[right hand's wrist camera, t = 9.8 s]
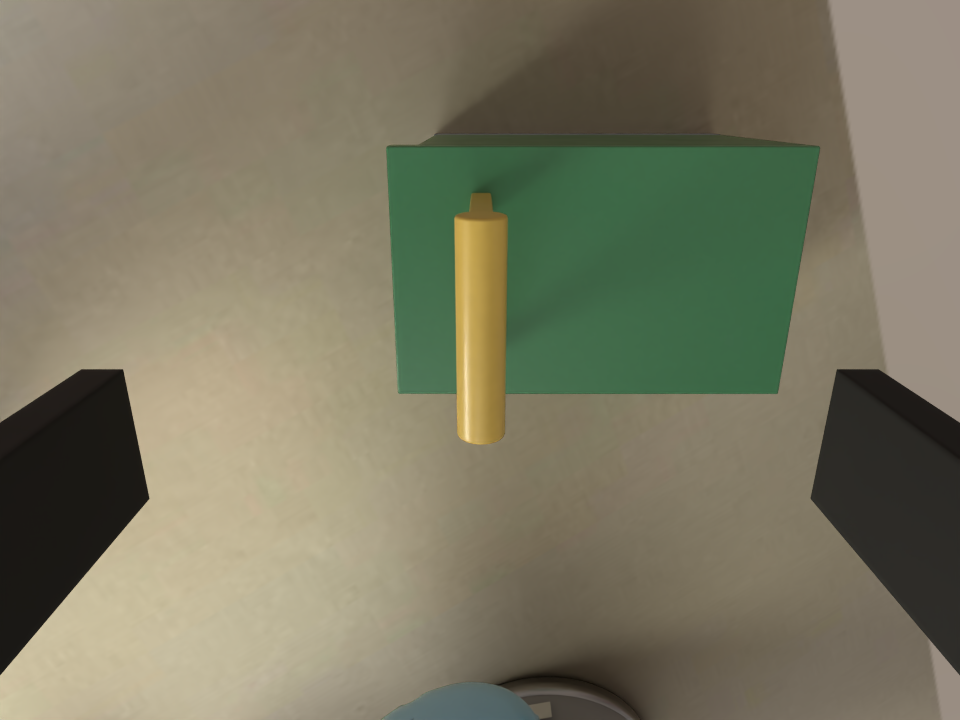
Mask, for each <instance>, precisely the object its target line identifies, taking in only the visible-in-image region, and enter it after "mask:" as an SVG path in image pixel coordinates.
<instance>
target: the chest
mask: <svg viewBox="0 0 960 720" xmlns="http://www.w3.org/2000/svg"><path fill="white" fill-rule="evenodd" d="M420 145H804V144H795V143H786V142H777V141H769V140H760V139H751V138H743V137H734V136H725V135H720V134H435V135H434V136H433V137H431V138H430V139H428V140H426V141H425V142H423V143H421V144H420Z"/></svg>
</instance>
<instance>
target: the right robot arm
mask: <svg viewBox="0 0 960 720" xmlns="http://www.w3.org/2000/svg"><path fill="white" fill-rule="evenodd" d="M148 500H149V494H148V489H147V484H146V480H145V475H144V470H143V465H142V460H141V455H140V450H139V445H138V440H137V435H136V431H135V426H134V421H133V416H132V411H131V406H130V401H129V396H128V391H127V386H126V382H125V377H124V372H123V369H81V370H80V371H78V372H77V373H75V374H74V375H72V376H71V377H69V378H68V379H66V380H65V381H63V382H62V383H60V384H58V385H57V386H55V387H54V388H52V389H51V390H49V391H48V392H46V393H45V394H43V395H42V396H40V397H39V398H37V399H36V400H34V401H33V402H31V403H30V404H28V405H27V406H25V407H23V408H22V409H20V410H19V411H17V412H16V413H14V414H13V415H11V416H10V417H8V418H7V419H5V420H4V421H2V422H1V423H0V675H1V674H2V672H3V671H4V670H5V669H6V668H7V667H8V665H9V664H10V663H11V662H12V661H13V659H14V658H15V657H16V656H17V655H18V654H19V652H20V651H21V650H22V649H23V648H24V646H25V645H26V644H27V643H28V642H29V640H30V639H31V638H32V637H33V636H34V635H35V633H36V632H37V631H38V630H39V629H40V627H41V626H42V625H43V624H44V623H45V622H46V620H47V619H48V618H49V617H50V616H51V614H52V613H53V612H54V611H55V610H56V609H57V607H58V606H59V605H60V604H61V603H62V601H63V600H64V599H65V598H66V597H67V596H68V594H69V593H70V592H71V591H72V590H73V588H74V587H75V586H76V585H77V584H78V583H79V581H80V580H81V579H82V578H83V577H84V575H85V574H86V573H87V572H88V571H89V570H90V568H91V567H92V566H93V565H94V564H95V562H96V561H97V560H98V559H99V558H100V556H101V555H102V554H103V553H104V552H105V551H106V549H107V548H108V547H109V546H110V545H111V543H112V542H113V541H114V540H115V539H116V538H117V536H118V535H119V534H120V533H121V532H122V530H123V529H124V528H125V527H126V526H127V525H128V523H129V522H130V521H131V520H132V519H133V517H134V516H135V515H136V514H137V513H138V512H139V510H140V509H141V508H142V507H143V506H144V504H145V503H146V502H147V501H148ZM811 500H812V501H813V502H814V503H815V504H816V506H817V507H818V508H819V509H820V510H821V512H822V513H823V514H824V515H825V516H826V517H827V519H828V520H829V521H830V522H831V523H832V525H833V526H834V527H835V528H836V529H837V530H838V532H839V533H840V534H841V535H842V536H843V538H844V539H845V540H846V541H847V542H848V543H849V545H850V546H851V547H852V548H853V549H854V551H855V552H856V553H857V554H858V555H859V557H860V558H861V559H862V560H863V561H864V562H865V564H866V565H867V566H868V567H869V568H870V570H871V571H872V572H873V573H874V574H875V575H876V577H877V578H878V579H879V580H880V581H881V583H882V584H883V585H884V586H885V587H886V588H887V590H888V591H889V592H890V593H891V594H892V596H893V597H894V598H895V599H896V600H897V601H898V603H899V604H900V605H901V606H902V607H903V609H904V610H905V611H906V612H907V613H908V614H909V616H910V617H911V618H912V619H913V620H914V622H915V623H916V624H917V625H918V626H919V627H920V629H921V630H922V631H923V632H924V633H925V635H926V636H927V637H928V638H929V639H930V641H931V642H932V643H933V644H934V645H935V646H936V648H937V649H938V650H939V651H940V652H941V654H942V655H943V656H944V657H945V658H946V659H947V661H948V662H949V663H950V664H951V665H952V667H953V668H954V669H955V670H956V671H957V672H958V674H959V675H960V423H959V422H958V421H956V420H955V419H953V418H952V417H950V416H949V415H947V414H946V413H944V412H943V411H941V410H940V409H938V408H936V407H935V406H933V405H932V404H930V403H929V402H927V401H926V400H924V399H923V398H921V397H920V396H918V395H917V394H915V393H914V392H912V391H911V390H909V389H908V388H906V387H904V386H903V385H901V384H900V383H898V382H897V381H895V380H894V379H892V378H891V377H889V376H888V375H886V374H885V373H883V372H882V371H880V370H879V369H837V372H836V377H835V382H834V386H833V391H832V396H831V401H830V406H829V411H828V416H827V421H826V426H825V431H824V435H823V440H822V445H821V450H820V455H819V460H818V465H817V470H816V475H815V480H814V484H813V489H812V494H811Z"/></svg>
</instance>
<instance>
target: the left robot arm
mask: <svg viewBox="0 0 960 720" xmlns="http://www.w3.org/2000/svg"><path fill="white" fill-rule="evenodd" d="M381 720H640V718H639V717H638V715H637V714H636V713H635V712H634V711H633V709H632V708H631V707H630V706H629V705H627V704H626V703H625V702H624V701H623V700H621V699H620V698H619V697H617V696H616V695H614V694H612V693H611V692H609V691H607V690H605V689H603V688H601V687H598V686H595V685H593V684H590V683H586V682H583V681H579V680H574V679H568V678H559V677H536V678H527V679H521V680H516V681H512V682H508V683H505V684H502V685H499V686H497V685H494V684H489V683H481V682H465V683H457V684H451V685H447V686H444V687H440V688H437V689H434V690H431V691H429V692H426V693H425V694H422V695H421V696H420V697H419V698H417V699H416V700H414V701H413V702H411V703H408V704H406V705H401V706H400V707H398V708H397V709H395V710H394V711H392V712H391V713H389V714H388V715H387V716H385V717H384V718H383V719H381Z"/></svg>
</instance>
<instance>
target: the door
mask: <svg viewBox="0 0 960 720" xmlns="http://www.w3.org/2000/svg"><path fill="white" fill-rule="evenodd" d="M386 152H387V173H388V194H389V215H390V236H391V257H392V278H393V299H394V320H395V341H396V362H397V383H398V393H399V394H457V433H458V436H459V437H460V438H461V439H462V440H463V441H465V442H468V443H472V444H490V443H494V442H497V441H499V440H500V439H502V438H503V436H504V434H505V394H777V393H778V389H779V383H780V377H781V372H782V366H783V360H784V354H785V348H786V343H787V337H788V331H789V325H790V320H791V314H792V308H793V302H794V296H795V291H796V285H797V279H798V273H799V267H800V262H801V256H802V250H803V244H804V238H805V233H806V227H807V221H808V215H809V209H810V204H811V198H812V192H813V186H814V180H815V175H816V169H817V163H818V157H819V152H820V147H819V146H813V145H390V146H387V148H386Z"/></svg>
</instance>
